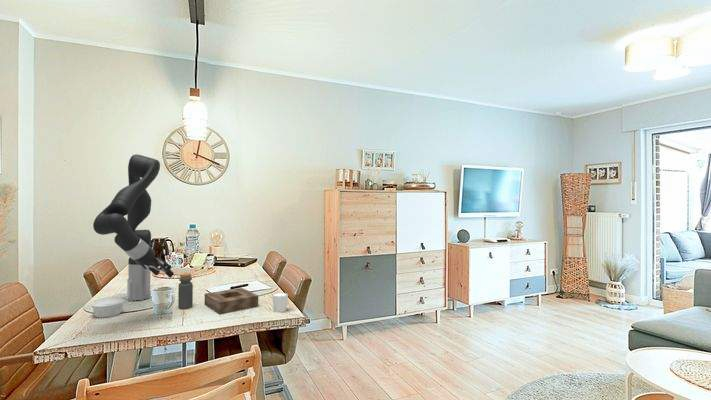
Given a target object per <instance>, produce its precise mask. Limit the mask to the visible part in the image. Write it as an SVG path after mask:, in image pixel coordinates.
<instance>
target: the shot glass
mask: <svg viewBox="0 0 711 400" xmlns="http://www.w3.org/2000/svg"><path fill="white" fill-rule="evenodd" d="M288 297H289V294H288V293H287V292H277V293H275V292H274V293H273V294H272V305H273V307H272V308H273V312H275V313H285V312H286V311H288V300H289V298H288Z"/></svg>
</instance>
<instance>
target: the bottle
mask: <svg viewBox="0 0 711 400" xmlns="http://www.w3.org/2000/svg"><path fill="white" fill-rule="evenodd" d="M192 279H193V278H192V273H190V272H189V273H187V272H183V273H180V274H179V281H178V282H180V283H179V284H178V290H177V291H178V292H177V293H178V296H177V297H178V299H177V301H178V303H177V304H178V309H179V310H189V309H191V308H193V307H194V306H193V305H194V303H193V300H194V299H193V298H194V297H193V296H194V292H193V288H194V287H193V286H194V284H193V283H194V282H191V281H192Z"/></svg>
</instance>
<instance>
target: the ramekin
mask: <svg viewBox="0 0 711 400" xmlns="http://www.w3.org/2000/svg"><path fill="white" fill-rule="evenodd" d="M124 303H125V300H124V299H123V298H107V299H106V298H105V299H100V300H97V301H95V302H93V303H92V304H91V307H92V310H93V314H94V317H96V318H99V319H100V318H103V319H105V318H111V317H115V316H118V315H120V314H121V313H122V312H123V307H124Z"/></svg>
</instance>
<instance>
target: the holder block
mask: <svg viewBox="0 0 711 400" xmlns="http://www.w3.org/2000/svg"><path fill="white" fill-rule="evenodd" d="M203 302H204V305H205V306H206V308H207V307H208V308H209V309H210V310H212V311H214V312H215V313H216V314H218V315H223V314H227V313H232V312H238V311H243V310H249V309H253V308H257V307H259V295H258V294H256V293H254V292H252V291H250V290H248V289H246V288H243V287H239V288H238V287H237V288H232V289H225V290H219V291H213V292H207V293H204V301H203Z"/></svg>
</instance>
